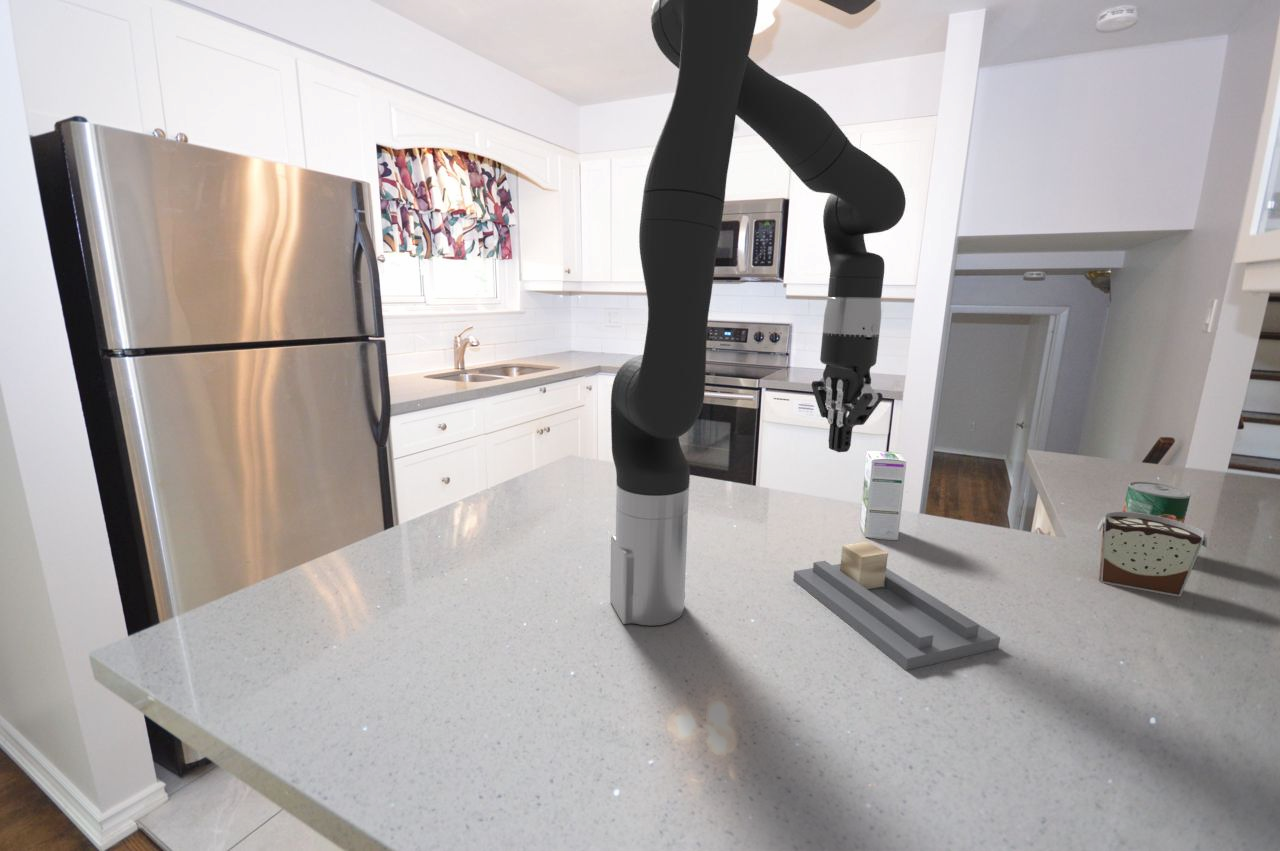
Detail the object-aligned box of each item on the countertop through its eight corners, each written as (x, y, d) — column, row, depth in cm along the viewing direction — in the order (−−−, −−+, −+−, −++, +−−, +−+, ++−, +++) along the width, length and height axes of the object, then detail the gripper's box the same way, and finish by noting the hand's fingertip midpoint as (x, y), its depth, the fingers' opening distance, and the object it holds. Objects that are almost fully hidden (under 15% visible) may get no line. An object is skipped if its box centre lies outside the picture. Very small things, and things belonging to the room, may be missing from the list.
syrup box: (898, 541, 100) (909, 460, 96) (863, 537, 101) (872, 457, 98) (891, 528, 105) (901, 452, 102) (857, 525, 106) (866, 449, 103)
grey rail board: (793, 580, 85) (795, 561, 84) (870, 567, 89) (872, 550, 89) (905, 670, 64) (909, 646, 64) (998, 648, 69) (1002, 626, 68)
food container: (1176, 580, 87) (1191, 519, 85) (1194, 599, 82) (1210, 533, 80) (1077, 564, 92) (1089, 505, 90) (1088, 580, 87) (1101, 518, 85)
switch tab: (839, 577, 82) (842, 545, 81) (864, 573, 84) (867, 541, 82) (858, 590, 78) (861, 557, 77) (883, 586, 80) (888, 553, 79)
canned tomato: (1172, 564, 93) (1187, 500, 91) (1111, 548, 99) (1124, 487, 96) (1179, 551, 98) (1194, 490, 96) (1120, 536, 104) (1133, 478, 101)
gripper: (800, 328, 85) (790, 441, 89) (861, 334, 73) (847, 464, 77) (841, 328, 88) (831, 438, 92) (908, 334, 76) (892, 460, 79)
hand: (838, 450), depth 84 cm, fingers closed
